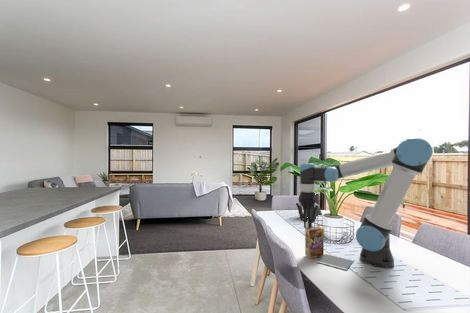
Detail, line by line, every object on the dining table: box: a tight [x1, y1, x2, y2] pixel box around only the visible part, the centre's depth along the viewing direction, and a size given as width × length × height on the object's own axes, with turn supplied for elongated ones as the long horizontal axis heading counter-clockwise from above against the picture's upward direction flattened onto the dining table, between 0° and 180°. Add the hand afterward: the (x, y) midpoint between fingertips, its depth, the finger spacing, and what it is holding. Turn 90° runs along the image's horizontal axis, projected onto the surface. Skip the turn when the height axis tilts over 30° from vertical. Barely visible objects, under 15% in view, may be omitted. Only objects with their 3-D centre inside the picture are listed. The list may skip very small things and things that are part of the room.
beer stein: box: [298, 193, 323, 217], centre depth 219 cm, size 16×19×25 cm
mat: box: [315, 253, 355, 272], centre depth 123 cm, size 14×14×1 cm
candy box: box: [304, 226, 325, 259], centre depth 130 cm, size 9×4×15 cm, turn 103°
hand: (307, 234), depth 132 cm, fingers closed
